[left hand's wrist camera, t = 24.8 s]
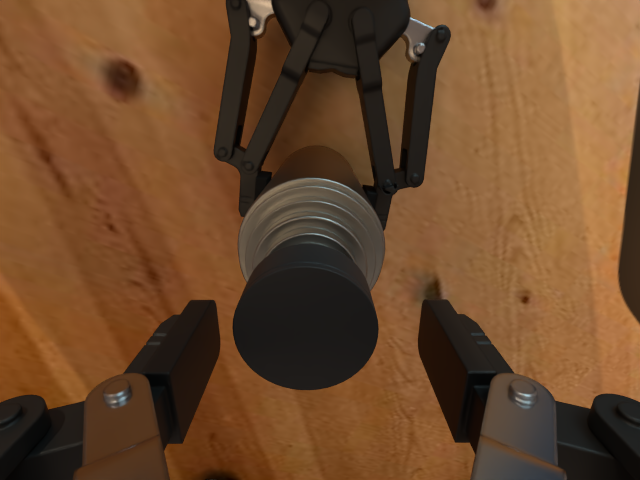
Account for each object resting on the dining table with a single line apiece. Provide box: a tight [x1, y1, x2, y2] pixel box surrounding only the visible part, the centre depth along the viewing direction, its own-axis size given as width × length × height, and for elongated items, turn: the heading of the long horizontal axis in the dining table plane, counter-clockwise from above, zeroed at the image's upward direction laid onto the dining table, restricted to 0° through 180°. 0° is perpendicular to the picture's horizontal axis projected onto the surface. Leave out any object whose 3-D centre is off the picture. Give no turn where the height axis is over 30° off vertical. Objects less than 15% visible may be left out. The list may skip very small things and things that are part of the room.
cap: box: [233, 244, 378, 390], centre depth 11 cm, size 4×4×2 cm
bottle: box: [238, 146, 385, 291], centre depth 21 cm, size 7×7×22 cm
